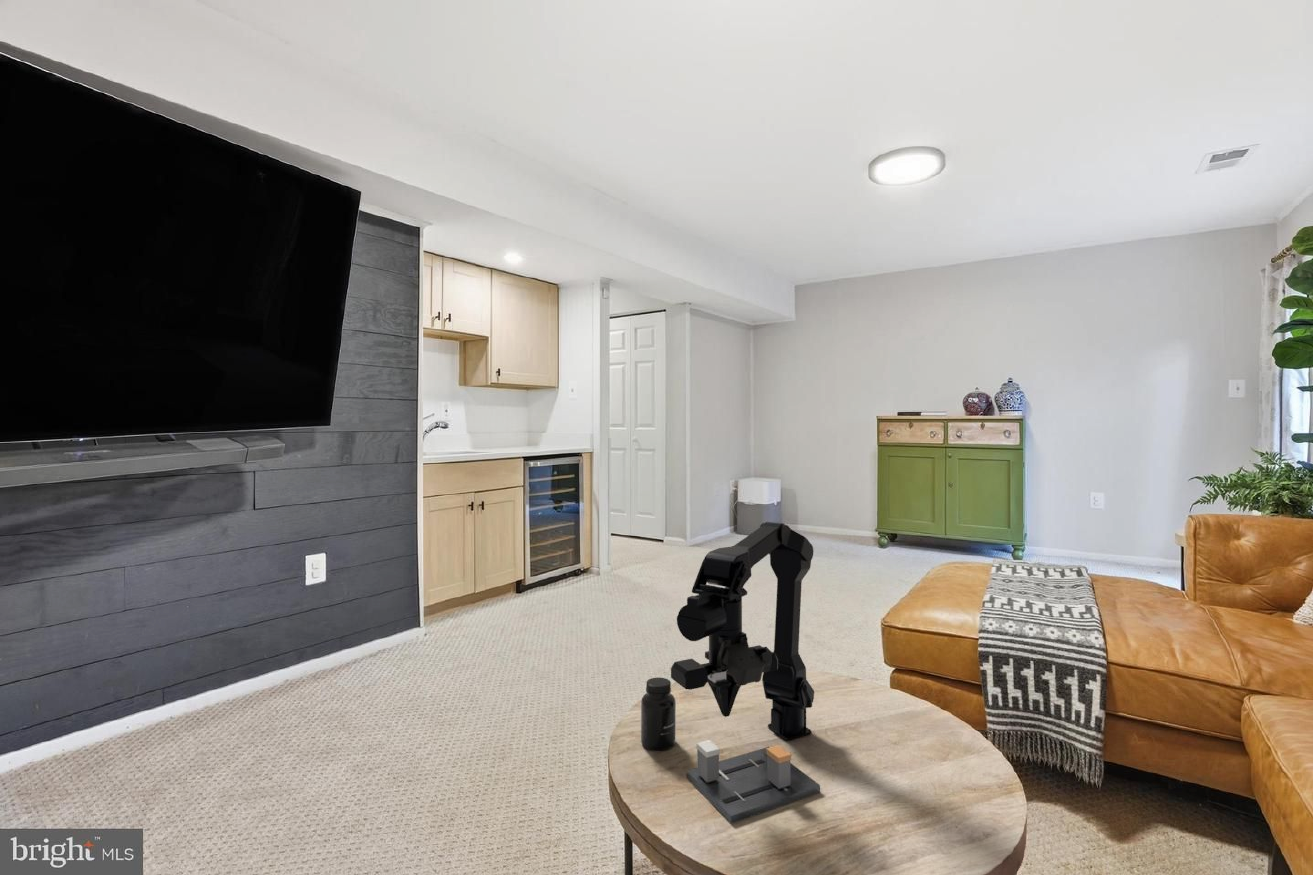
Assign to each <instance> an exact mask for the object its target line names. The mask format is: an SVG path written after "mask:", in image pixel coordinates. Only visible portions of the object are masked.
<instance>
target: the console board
mask: <svg viewBox="0 0 1313 875" xmlns="http://www.w3.org/2000/svg"><path fill="white" fill-rule="evenodd" d="M766 748H770V746H767V747H764V748H760V749H755V750H754V751H750V752H747V753H743V754H740V755H736V756H733V757H732V756H731V757H729V758H726V759H723V760H719V779H717V780H714V781H710V782H706V781H705V780H704V779H703V778H702V777H701V776H700V775H699V774H698V773H697V767H696V768H693V769H692V768H691V769H689V770H686V779H687V780H688V781H689V782H690V783H691V784H692V785H693V786H694V787H695V788H696V789H697V791H699V792H700V794H702V796H703V797H704V798H706V799H707V801H708V802H709V803H710V804H711V805H712V806H713V807H714V808H716V810H717V811H718V812H719V813H720V814H721V815H722V816H723V818H725V820H727V821H728V822H729V824H731V825H732V824H735V823H737V822H741V821H743V820H745V819H746V820H747V819H748V818H750V817H754V816H757V815H760V814H763V813H766V812H769V811H771V810H774V809H776V808H779V807H782V806H785V805H788V804H792V803H793V802H796V801H799V800H802V799H805V798H808V797H811V796H814V795H817V794H820V793H821V785H820V783H818V782H816V781H815V780H814V779H813V778H812V777H810V776H809V775H807V774H806V773H805V772H803V771H802V770H801V769H800V768H798V767H797V766H795V765H794V764H793V763H791V762H790V785H789V786H786V787H783V788H780V789H779V788H777V787H776V786H775V785H774V784H773V783H771V782H770V781H769V780H768V779H767V754H766Z"/></svg>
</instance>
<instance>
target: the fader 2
mask: <svg viewBox="0 0 1313 875" xmlns="http://www.w3.org/2000/svg"><path fill="white" fill-rule="evenodd" d="M769 747H770V746H769ZM765 748H766V747H765ZM766 754H767V779H768V780H769V781H770V782H771V783H773V784H774V785H775V786H776V787H777V788H779V789H780V788H783V787H786V786H789V785H790V763H791V761H792V753H790V752H789V751H787V750H786V749H785V748H783V747H782V746H781V745H779V744H778V745H774V746H771V747H770V748H766Z"/></svg>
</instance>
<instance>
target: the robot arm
mask: <svg viewBox="0 0 1313 875" xmlns="http://www.w3.org/2000/svg"><path fill="white" fill-rule="evenodd" d="M813 546H814V545H813V544H812V543H811V542H810V541H809V539H808V538H806V536H804V535H802V534H800V533H798V532H796V531H795V530H793V529H792V528H791V527H790V526H789V525H788V524H786V523H783V522H772V521H765V522H762V523H761V524H760V526H759V528H757V529H756V530H754V531H753V532H751V533H749V535H747V536H746V537H744V538H743V539H741V540H740V541H738V542H737V543H735V544H734V545H732V546H726V547H725V546H724V547H718V548H715V549H713V550H710V551H709V552H708V553H706V555H705V556H704V558H703V560H702V562H701V565H700V567H699V570H698V572H697V575H696V578H695V581H694V583H693V586H692V588H691V593H692V594H696V595H691V596H688V597H687V599H686V604H685V605H684V606H682V607H680V609H679V611H678V614H677V616H676V624H677V628H678V630H679V632H680V634H681V635H682V636H683V638H684V639H686V640H688V641H690V642H698V641H700V640H702V639H705V638H706V637H708V650H707V651H705V652H704V659H706V660H708V662H706V663H702V664H701V663H699V662H698V661H697V660H695V659H693V658H687V659H683V660H678V661H674V662H673V664H672V665H671V668H670V678H671V679H672V680H673V681H674V682H675V683H677V684H678V685H680V686H681V688H683V689H685V690H690V691H691V690H696V689H700V688H703V687H705V686H706V684H708V686H709V687H710V689H711V691H712V693H713V696H714V699H715V701H716V703H717V705H718V708H719V711H720V713H721V715H722V716H723V717H724V718H726V717H730V715H731V712H732V709H733V706H734V703H735V701H736V698H737V695H738V692H739V691H740V688H741V687H742V686H746V685H747V684H751V683H759V682H761V681H762V682H761V683H762V686H763V693H764V695H765V699H766V700H771V702H772V707H771V709H770V723H768V724H767V728H768V729H770V730H771V731H773V733H776V734H777V735H779V736H780V738H782V739H783V740H785V741H791V740H794V739H798V738H802V737H804V736H808V735H811V734H812V732H813V731H812V730H811V729H810V728H808V727H807V709H808V708H809V709H811V708H812V707H813V702H814V699H815V690H814V689H813V687H812V685H811V684H810V683H809V681H808V680H807V667H806V665H805V663H804V661H803V659H802V657H801V655H800V654H799V653H800V652H799V651H800V650H799V648H800V647H799V646H800V645H799V644H800V628H801V627H800V625H801V606H802V605H801V602H802V600H801V598H802V581H803V579H804V578H805V576H806V575H807V573H808V572H809V571H810V569H811V566H812V560H813V558H814V547H813ZM768 555H769V561H770V562H769V564H770V567H771V569H772V571H773V573H774V574H775V577H776V579H777V580H776V581H777V584H776V604H775V620H774V621H775V622H774V624H775V626H774V641H773V642H774V644H773V646H774V647H773V651H771V650H770V649H769V648H768V647H767V646H764V647H763V646H761V645H755V646H749V642H748V636H747V633H745V632H743V597H744V596H747V594H748V591H747V590H746V588H744V586H745V585H746V583H747V582H748V580H749V579H750V578H751V577H752V568H753V567H754V566H755V565H756V564H758V563H759V562H760V561H762V559H764V558H765V557H767V556H768Z"/></svg>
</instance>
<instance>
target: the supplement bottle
mask: <svg viewBox="0 0 1313 875" xmlns="http://www.w3.org/2000/svg"><path fill="white" fill-rule="evenodd" d="M671 684H672V683H671V680H669V679H668V678H665V677H652V678H649V679H648V680H646V684H645V686H646V688H645V694H644V695H643V696H642V697H641V701H640V702H641V704H640V709H641V710H640V741H641V744H642V745H643V747H644V748H645V749H648V750H651V751H666V750H668V749H671V748H672V747H674V745H675V743H676V719H677V718H676V717H677V716H676V713H677V712H676V708H677V705H676V704H677V703H676V698H675V696H674V695H673V694H672V693H671V692H672V687H671V686H672V685H671Z"/></svg>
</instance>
